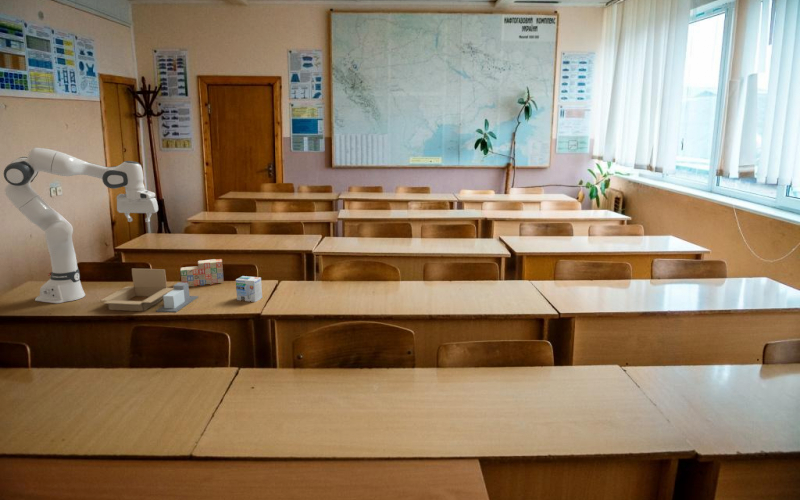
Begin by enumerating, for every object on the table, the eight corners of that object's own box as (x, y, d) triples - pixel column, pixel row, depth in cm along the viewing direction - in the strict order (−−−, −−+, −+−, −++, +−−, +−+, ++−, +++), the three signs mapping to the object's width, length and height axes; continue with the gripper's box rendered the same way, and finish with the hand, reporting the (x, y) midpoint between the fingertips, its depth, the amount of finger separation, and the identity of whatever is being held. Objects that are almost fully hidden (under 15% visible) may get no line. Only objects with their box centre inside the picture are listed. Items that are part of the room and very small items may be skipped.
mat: (155, 311, 277) (155, 310, 276) (179, 296, 298) (179, 295, 298) (176, 312, 275) (176, 311, 275) (198, 297, 296) (198, 296, 296)
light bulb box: (236, 300, 291) (234, 279, 289) (244, 296, 297) (242, 275, 295) (255, 302, 288) (254, 281, 286) (262, 298, 294) (261, 277, 292)
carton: (97, 311, 278) (93, 282, 274) (128, 294, 302) (124, 268, 298) (148, 313, 274) (144, 284, 271) (175, 296, 298) (172, 269, 295)
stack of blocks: (181, 287, 313) (179, 264, 310) (182, 284, 319) (180, 261, 316) (223, 283, 319) (222, 261, 316) (223, 280, 325) (221, 258, 322)
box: (164, 308, 280) (162, 291, 278) (180, 297, 294) (178, 282, 292) (174, 308, 279) (172, 292, 277) (189, 298, 293) (188, 282, 291)
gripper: (112, 194, 291) (115, 222, 295) (151, 195, 289) (154, 223, 292) (119, 192, 297) (123, 220, 301) (158, 193, 295) (161, 220, 298)
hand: (139, 221), depth 296 cm, fingers open, 8 cm apart
